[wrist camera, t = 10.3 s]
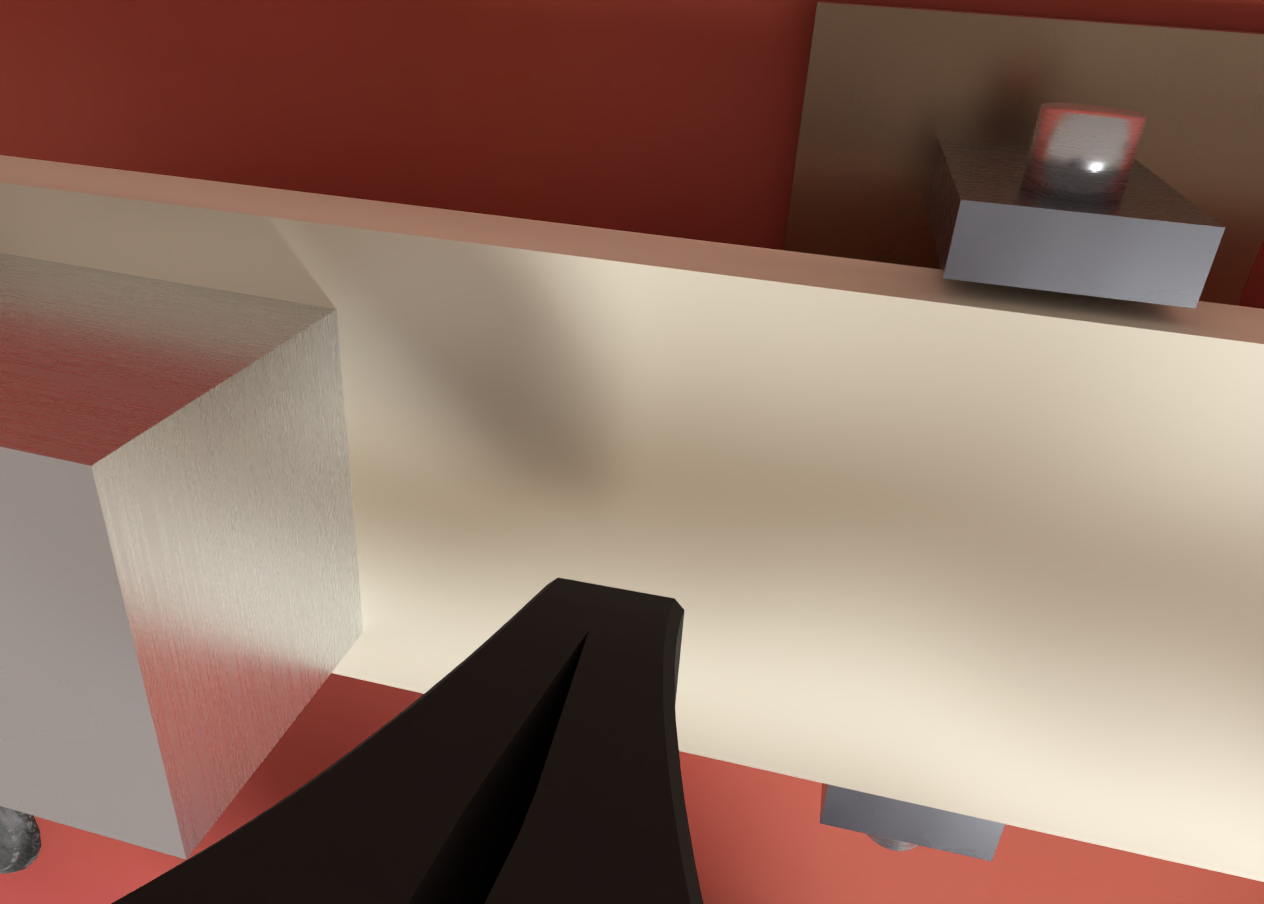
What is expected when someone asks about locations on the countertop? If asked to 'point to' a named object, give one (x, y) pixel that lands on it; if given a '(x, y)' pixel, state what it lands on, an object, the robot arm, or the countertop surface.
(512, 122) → the countertop surface
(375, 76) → the countertop surface
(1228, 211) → the pivot stand
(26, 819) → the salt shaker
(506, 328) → the beam
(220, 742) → the steel block
